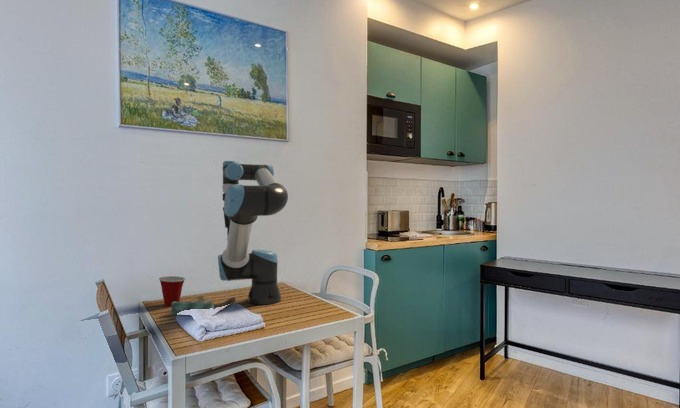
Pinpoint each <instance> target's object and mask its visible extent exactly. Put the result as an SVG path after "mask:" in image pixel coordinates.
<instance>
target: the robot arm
mask: <svg viewBox="0 0 680 408" xmlns="http://www.w3.org/2000/svg"><path fill="white" fill-rule="evenodd" d="M221 168H222V186H221V187H222V192H223V193H222V201H224V202H223V207H222V211H223V218H224V227H225V228H226V230H227V231H226V236H227V238H226V240H227V244H226V248H225V249H224V250H223V252H222V253H221V254H218V256H217V261H218V262H217V263H218V272H219V279H220V280H221V281H223V282H224V281H227V282H230V281H242V280H251V286H250V289H249V292H248V295H247V302H248V303H250V304H253V305H273V304H277V303H279V302H280V301H282V293H281V292H280V288H279V285H278V264H279V263H278V255H277V253H276V252H274V251H272V250H266V249H252V250H251V252H250V253H249V252H248V248H249V243H250V238H251V237H250V236H251V232H252V227H253V224H254V223H255V222H256V221H257V220H258V217H262V216H265V217H266V216H267V217H268V216H273V215H276V214H277V213H279V212H281V211H282V210H283V209H284V208H285V207H286V205H287V203H288V199H289V195H288V190H287V188H286V187H285V186H283V184H281V183H278V181H277V180H276V178H275V177H274V174H275V172H274V167H273V165H269V164H251V163H250V164H248V163H247V164H246V163H239V162H238V161H236V160H224V161H223V162H222V167H221ZM240 181H255V182H256V183H257V184H258V185H243V184H240V183H239V182H240Z"/></svg>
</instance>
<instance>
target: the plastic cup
mask: <svg viewBox="0 0 680 408" xmlns="http://www.w3.org/2000/svg"><path fill="white" fill-rule="evenodd" d="M158 279H159V281H160V286H161V292H162V297H163V303H164V306H166V307H172V302H181V301H180V300H181V295H182V290H183V286H184V283H185V280H186V277H183V276H175V275H174V276H173V275H172V276H171V275H169V276H167V275H166V276H161V277H159V278H158Z"/></svg>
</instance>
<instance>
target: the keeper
mask: <svg viewBox="0 0 680 408" xmlns="http://www.w3.org/2000/svg"><path fill="white" fill-rule="evenodd" d="M194 299H195V298H194ZM192 300H193V299H192ZM190 301H191V300H190ZM212 301H213V300H212V299H211V298H210V299H205V298H203V299H195V300H193V301H191V302H195V303H213V302H212Z"/></svg>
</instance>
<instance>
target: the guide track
mask: <svg viewBox="0 0 680 408" xmlns="http://www.w3.org/2000/svg"><path fill="white" fill-rule="evenodd" d="M195 299H204V295H199V296H197V297H195V298H194V299H192V300H189V301H179V302H172V306H171V316H177V313H179V312H181V311H184V310H190V309H210V308H216V307H222V306H225V305H228V304H231V303H233V304H234V303H236V297H234V296H232V297H230V298H229V299H227V300H225V301H224V302H222V303H220V304H218V305H217V306H216V307H215V303H214V302H212V303H195V302H191V301H193V300H195ZM231 305H232V304H231Z"/></svg>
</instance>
